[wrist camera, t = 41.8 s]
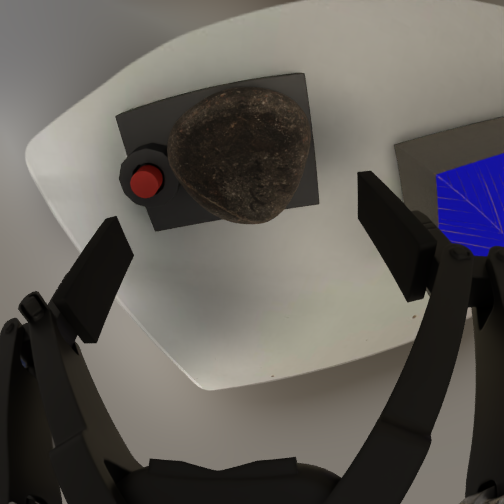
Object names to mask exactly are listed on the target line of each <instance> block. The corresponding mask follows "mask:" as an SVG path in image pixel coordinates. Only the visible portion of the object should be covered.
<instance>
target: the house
mask: <svg viewBox="0 0 504 504" xmlns="http://www.w3.org/2000/svg"><path fill="white" fill-rule="evenodd" d="M394 146H395V151H396V156H397V162H398V168H399V173H400V180H401V186H402V193H403V200H404V204H405V205H406V206H407V207H408V209H409V210H410V211H415V210H418V211H420V212H421V213H423V214H425V215H427V216H428V217H429V219H430V220H431V221H432V223H434V224H435V225H436V226H437V228H439V229H440V230H441V232H442V233H443V234H444V235H445V236H446V237H447V238H448V239H449V240H450V242H451V243H456V244H461V245H463V246H466V247H467V248H468V249H470V250H471V252H472V253H473V255H474V256H488V252H489V250H490V248H491V247H493V246H501V247H504V117H502V118H498V119H493V120H489V121H484V122H480V123H475V124H471V125H467V126H463V127H459V128H455V129H451V130H447V131H443V132H439V133H435V134H432V135H428V136H424V137H421V138H417V139H413V140H410V141H406V142H403V143H399V144H396V145H394ZM426 291H427V293H428V295H429V296H430V295H431V293H430V292H429V290H428V288H426Z"/></svg>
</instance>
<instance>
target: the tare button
mask: <svg viewBox="0 0 504 504" xmlns="http://www.w3.org/2000/svg"><path fill="white" fill-rule="evenodd" d="M162 181H163V176H162V173H161V171H160V170H159V169H158V168H157V167H155V166H153V165H144V166H142V167H141V168H139V170H138V171H137V172H136V173H135V174H134V175H133V176H132V178H131V182H130V184H131V189H132V191H133V192H134V193H135V194H136V195H137V196H139V197H141V198H150V197H152V196H154V195H155V194H156V192H157V191H158V189H159V187H160V186H161V184H162Z"/></svg>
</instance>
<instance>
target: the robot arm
mask: <svg viewBox="0 0 504 504" xmlns="http://www.w3.org/2000/svg"><path fill="white" fill-rule="evenodd" d="M357 174H358V219H359V221H360V222H361V224H362V226H363V227H364V229H365V230H366V232H367V233H368V235H369V237H370V238H371V240H372V241H373V243H374V245H375V246H376V248H377V250H378V251H379V253H380V255H381V256H382V258H383V260H384V261H385V263H386V265H387V267H388V268H389V270H390V272H391V273H392V275H393V277H394V279H395V281H396V282H397V284H398V286H399V288H400V290H401V291H402V293H403V295H404V297H405V299H406V301H407V302H411V301H415V300H419V299H423V298H424V295H425V291H426V288H428V290H429V292H430V293H431V295H430V299H429V302H428V305H427V308H426V311H425V314H424V317H423V320H422V322H421V325H420V328H419V331H418V333H417V336H416V339H415V341H414V344H413V346H412V349H411V351H410V354H409V356H408V359H407V361H406V363H405V366H404V368H403V370H402V372H401V375H400V377H399V379H398V381H397V383H396V385H395V387H394V390H393V392H392V394H391V396H390V398H389V400H388V402H387V404H386V406H385V408H384V409H383V411H382V413H381V415H380V417H379V419H378V420H377V422H376V424H375V426H374V428H373V430H372V431H371V433H370V435H369V436H368V438H367V440H366V442H365V443H364V445H363V446H362V448H361V450H360V451H359V453H358V454H357V456H356V457H355V459H354V461H353V462H352V464H351V465H350V467H349V468H348V470H347V471H346V473H345V474H344V475H343V477H342V478H341V477H339V476H338V475H336V474H334V473H333V472H330V471H328V470H326V469H324V468H321V467H318V466H314V465H309V464H302V463H297V460H296V457H291V458H282V459H273V460H261V461H255V462H251V463H248V464H244V465H241V466H237V467H233V468H229V469H225V470H220V471H216V470H211V469H207V468H204V467H199V466H196V465H193V464H189V463H186V462H182V461H172V460H160V459H150V461H149V466H147V467H142V466H141V465H140V464H139V463H138V462H137V461H136V460H135V459H134V457H133V456H132V455H131V453H130V451H129V450H128V448H127V446H126V444H125V443H124V441H123V439H122V438H121V436H120V434H119V432H118V430H117V429H116V427H115V425H114V423H113V421H112V419H111V417H110V415H109V413H108V412H107V409H106V408H105V405H104V403H103V401H102V399H101V397H100V395H99V393H98V391H97V388H96V386H95V384H94V382H93V379H92V377H91V375H90V372H89V370H88V368H87V365H86V363H85V360H84V358H83V356H82V353H81V350H80V347H79V346H78V344H77V343H76V342H75V339H76V337H77V335H78V336H79V337H80V338H81V340H82V341H83V342H84V343H97V341H98V338H99V336H100V333H101V330H102V328H103V325H104V323H105V320H106V318H107V315H108V313H109V311H110V308H111V306H112V303H113V301H114V299H115V296H116V294H117V292H118V289H119V287H120V285H121V283H122V280H123V278H124V276H125V274H126V272H127V269H128V267H129V265H130V263H131V261H132V259H133V257H134V254H133V252H132V250H131V248H130V246H129V243H128V241H127V239H126V237H125V234H124V232H123V230H122V228H121V225H120V223H119V221H118V218H117V216H114V217H110V218H106V219H105V220H104V222H103V223H102V224H101V226H100V227H99V228H98V230H97V231H96V233H95V234H94V235H93V237H92V238H91V240H90V241H89V242H88V244H87V245H86V247H85V248H84V250H83V251H82V253H81V254H80V256H79V257H78V259H77V260H76V262H75V263H74V265H73V266H72V268H71V269H70V271H69V272H68V273H67V274H66V275H65V277H64V279H63V280H62V283H60V285H59V287H58V289H57V290H56V292H55V293H54V295H53V297H52V298H51V300H50V302H49V304H48V305H47V304H46V302H45V301H44V299H43V298H42V296H41V295H40V294H39V292H37V291H35V292H32V293H30V294H28V295H27V296H26V297H25V298H24V299H23V300H22V301H21V303H20V304H19V308H18V310H19V311H20V312H21V314H22V315H23V316H24V317H25V319H26V320H27V321H28V323H26V324H23V325H22V324H21V323H20V322H19V320H18V319H17V318H13V319H10V320H9V321H7V322H6V323H5V324H4V327H3V328H2V330H1V333H0V504H62V497H61V492H60V488H61V490H62V492H63V494H64V497H65V499H66V501H67V503H68V504H400V503H401V502H402V500H403V498H404V497H405V495H406V493H407V491H408V490H409V488H410V486H411V484H412V482H413V480H414V479H415V477H416V475H417V473H418V471H419V469H420V467H421V465H422V463H423V461H424V459H425V457H426V455H427V452H428V450H429V447H430V444H431V432H432V429H433V427H434V424H435V422H436V419H437V417H438V414H439V412H440V409H441V406H442V403H443V401H444V398H445V395H446V392H447V388H448V385H449V382H450V379H451V376H452V373H453V369H454V366H455V362H456V359H457V355H458V351H459V347H460V343H461V338H462V334H463V329H464V325H465V320H466V314H467V309H468V307H471V308H472V316H473V326H474V339H475V359H476V396H475V397H476V398H475V415H474V427H473V437H472V445H471V452H470V459H469V465H468V472H467V479H466V492H465V499H464V500H463V501H462V502H461V503H460V504H504V247H501V246H493V247H491V248H490V250H489V252H488V256H474V255H473V253H472V252H471V250H470V249H468V248H467V247H466V246H463V245H461V244H456V243H451V242H450V240H449V239H448V238H447V237H446V236H445V235H444V234H443V233H442V232H441V230H440V229H439V228H437V226H436V225H435V224H434V223H432V221H431V220H430V219H429V217H428V216H427V215H425V214H423V213H421V212H420V211H418V210H415V211H410V210H409V209H408V207H407V206H406V205H405V204H404V203H403V202H402V201H401V200H400V199H399V198H398V197H397V196H396V195H395V194H394V193H393V192H392V191H391V190H390V189H389V188H388V187H387V186H386V185H385V184H384V183H383V182H382V181H381V180H380V179H379V178H378V177H377V176H376V175H375V174H374V173H373V172H372V171H364V172H357ZM21 359H22V360H23V362H24V363H25V364H26V366H25V367H24V366H23V365H22V362H21ZM59 485H60V486H59Z"/></svg>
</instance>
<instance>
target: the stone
mask: <svg viewBox="0 0 504 504" xmlns="http://www.w3.org/2000/svg"><path fill="white" fill-rule="evenodd" d="M310 141H311V130H310V125H309V122H308V119H307V117H306V115H305V113H304V111H303V110H302V109H301V107H300V106H299V105H298V104H297V103H296V102H295V101H293V100H292V99H291V98H289V97H288V96H286V95H284V94H282V93H279V92H276V91H273V90H270V89H265V88H258V87H236V88H229V89H226V90H222V91H219V92H217V93H214V94H212V95H210V96H208V97H206V98H205V99H203V100H201V101H200V102H199V103H197V104H196V105H194V106H193V107H192V108H190V109H189V110H188V111H186V112H185V113H184V114H183V115H182V116H181V117H180V118H179V119H178V120H177V122H176V123H175V124H174V126H173V128H172V130H171V132H170V135H169V138H168V145H167V154H168V160H169V164H170V167H171V169H172V171H173V173H174V175H175V176H176V178H177V179H178V181H179V182H180V183H181V185H182V186H183V187H184V189H185V190H186V191H187V192H188V194H189V195H190V196H191V197H192V198H193V199H194V200H195V201H196V202H197V203H198V204H199V205H201V206H202V207H203V208H204V209H206V210H207V211H208V212H210V213H212V214H213V215H215V216H217V217H219V218H221V219H224V220H227V221H230V222H234V223H239V224H260V223H265V222H268V221H270V220H272V219H273V218H275V217H276V216H278V215H279V214H280V213H281V212H282V211H283V210H284V209H285V208H286V206H287V205H288V204H289V202H290V201H291V199H292V197H293V195H294V193H295V192H296V190H297V188H298V186H299V183H300V181H301V178H302V175H303V172H304V168H305V165H306V161H307V158H308V154H309V149H310Z"/></svg>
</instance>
